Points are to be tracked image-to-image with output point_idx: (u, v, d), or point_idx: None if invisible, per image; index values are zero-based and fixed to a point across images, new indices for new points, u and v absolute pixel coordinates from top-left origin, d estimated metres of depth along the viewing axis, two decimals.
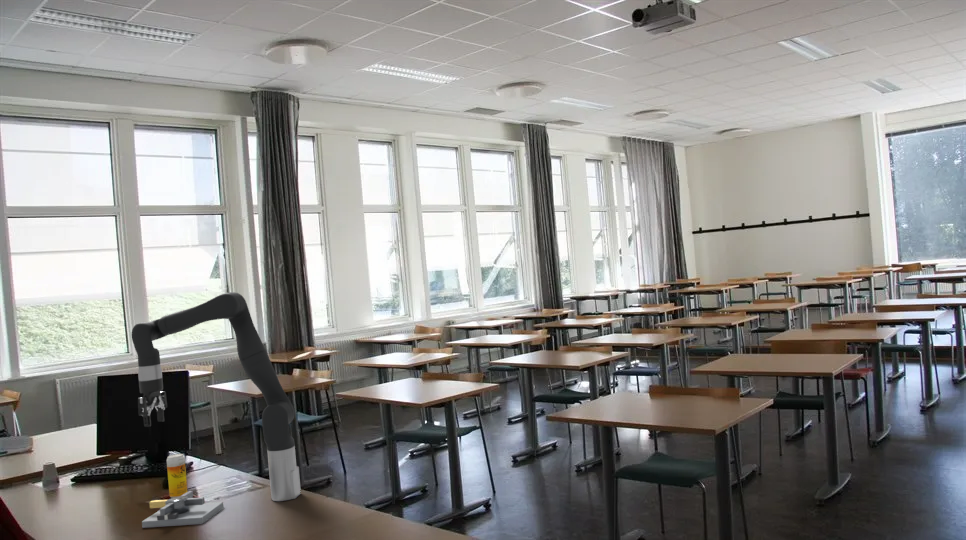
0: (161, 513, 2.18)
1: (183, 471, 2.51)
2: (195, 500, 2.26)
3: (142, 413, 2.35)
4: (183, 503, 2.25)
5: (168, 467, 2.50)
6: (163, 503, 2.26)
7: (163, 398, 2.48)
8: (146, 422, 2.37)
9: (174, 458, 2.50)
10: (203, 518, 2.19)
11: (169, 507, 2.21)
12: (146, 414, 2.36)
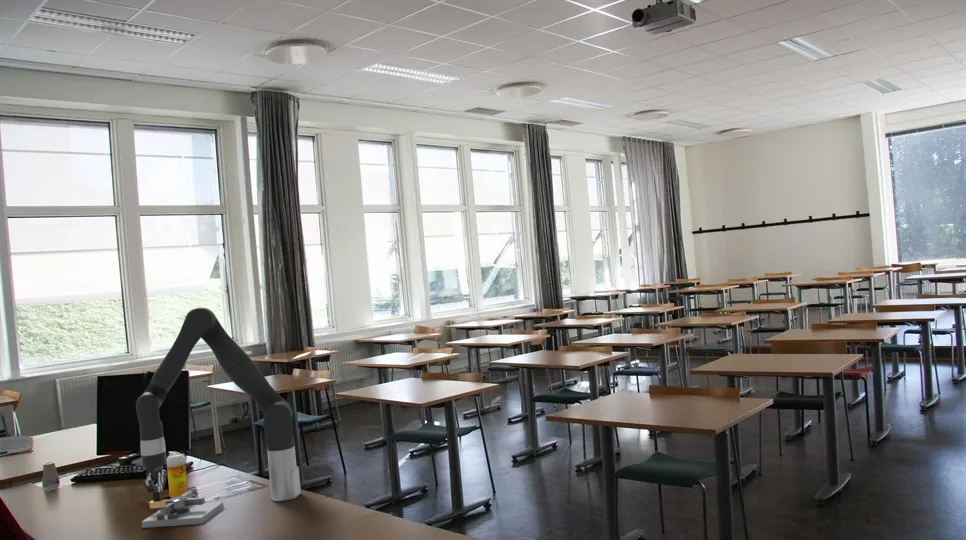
0: (161, 513, 2.18)
1: (183, 471, 2.51)
2: (195, 500, 2.26)
3: (152, 491, 2.27)
4: (183, 503, 2.25)
5: (168, 467, 2.50)
6: (163, 503, 2.26)
7: (163, 476, 2.34)
8: (156, 499, 2.29)
9: (174, 458, 2.50)
10: (203, 518, 2.19)
11: (169, 507, 2.21)
12: (156, 491, 2.27)
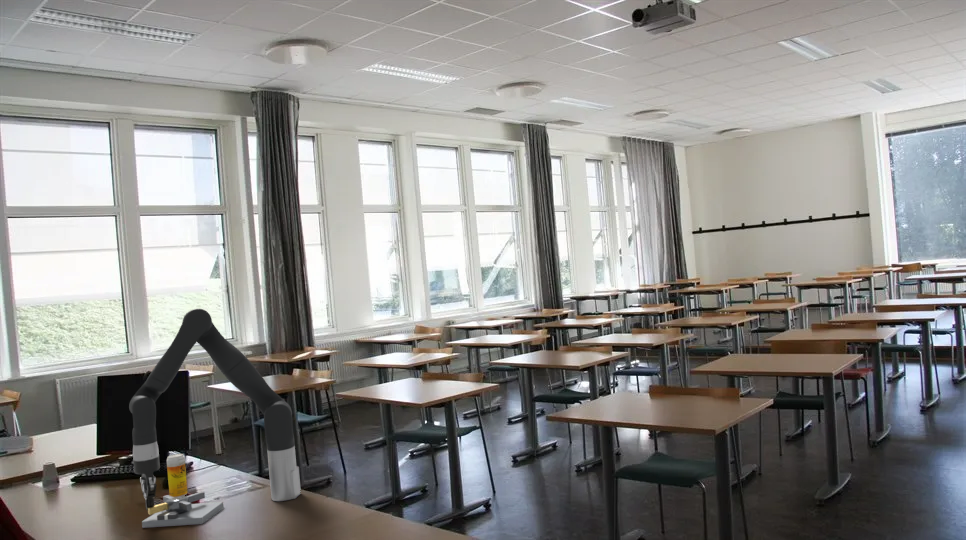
0: (188, 508, 2.21)
1: (183, 471, 2.51)
2: (198, 495, 2.31)
3: (151, 496, 2.21)
4: (188, 499, 2.28)
5: (168, 467, 2.50)
6: (165, 506, 2.23)
7: None
8: (151, 505, 2.22)
9: (174, 458, 2.50)
10: (203, 518, 2.19)
11: None
12: (154, 496, 2.22)
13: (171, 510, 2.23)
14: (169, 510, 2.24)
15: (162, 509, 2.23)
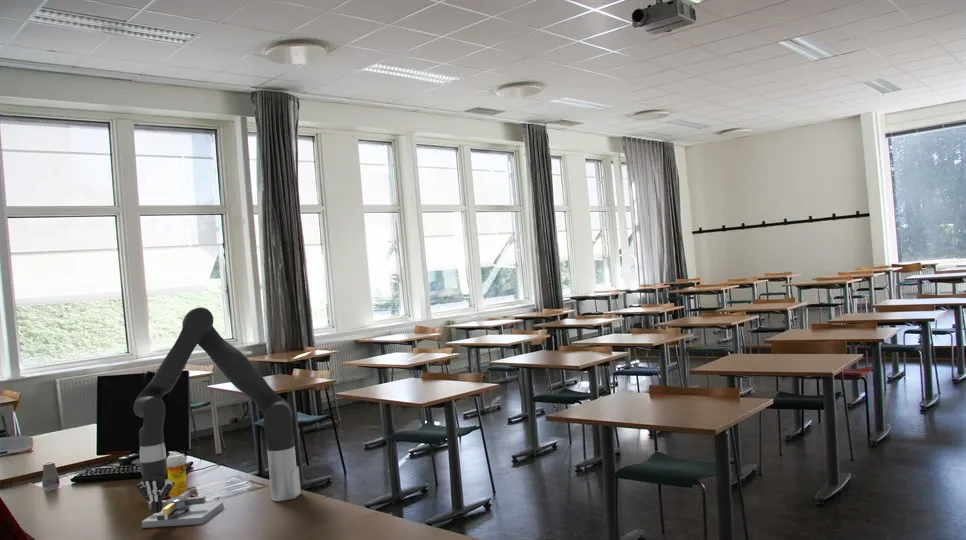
0: (204, 501, 2.27)
1: (183, 471, 2.51)
2: (187, 494, 2.34)
3: (165, 496, 2.19)
4: None
5: (168, 467, 2.50)
6: (174, 505, 2.23)
7: (146, 487, 2.21)
8: (161, 507, 2.19)
9: (174, 458, 2.50)
10: (203, 518, 2.19)
11: None
12: (165, 496, 2.20)
13: (180, 509, 2.24)
14: (177, 509, 2.24)
15: (173, 509, 2.22)
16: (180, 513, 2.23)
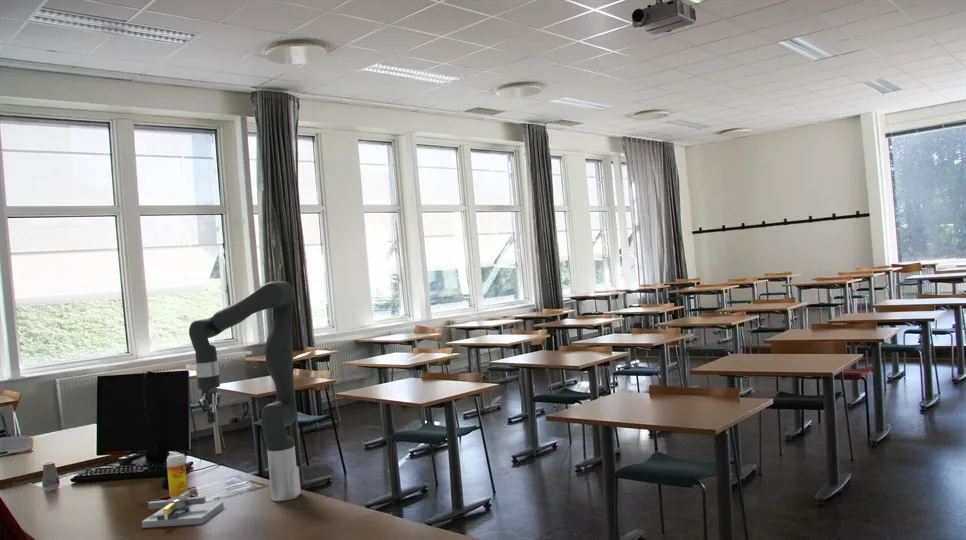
0: (204, 501, 2.27)
1: (183, 471, 2.51)
2: (187, 494, 2.34)
3: (207, 410, 2.42)
4: None
5: (168, 467, 2.50)
6: (174, 505, 2.23)
7: (217, 399, 2.49)
8: (210, 419, 2.44)
9: (174, 458, 2.50)
10: (203, 518, 2.19)
11: None
12: (210, 411, 2.43)
13: (180, 509, 2.24)
14: (177, 509, 2.24)
15: (173, 509, 2.22)
16: (180, 513, 2.23)
